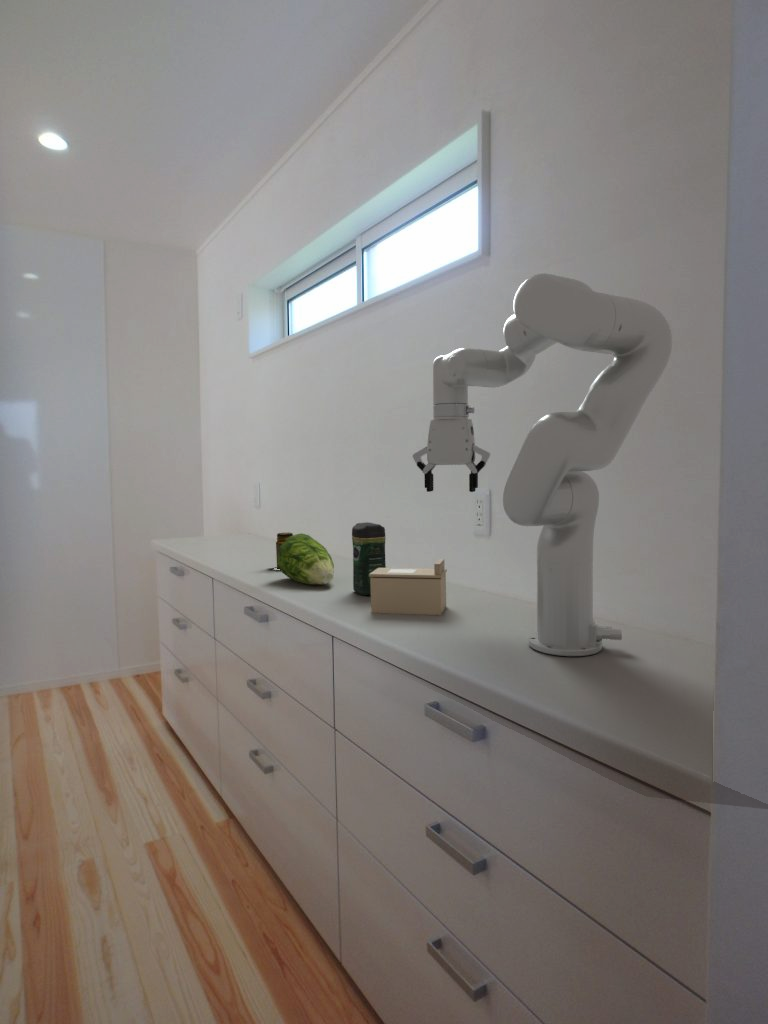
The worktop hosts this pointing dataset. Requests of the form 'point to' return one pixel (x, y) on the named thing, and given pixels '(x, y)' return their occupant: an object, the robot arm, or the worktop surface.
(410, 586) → the box
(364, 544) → the coffee jar
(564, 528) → the robot arm
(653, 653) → the worktop surface
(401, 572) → the lid
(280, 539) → the condiment
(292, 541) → the lettuce
